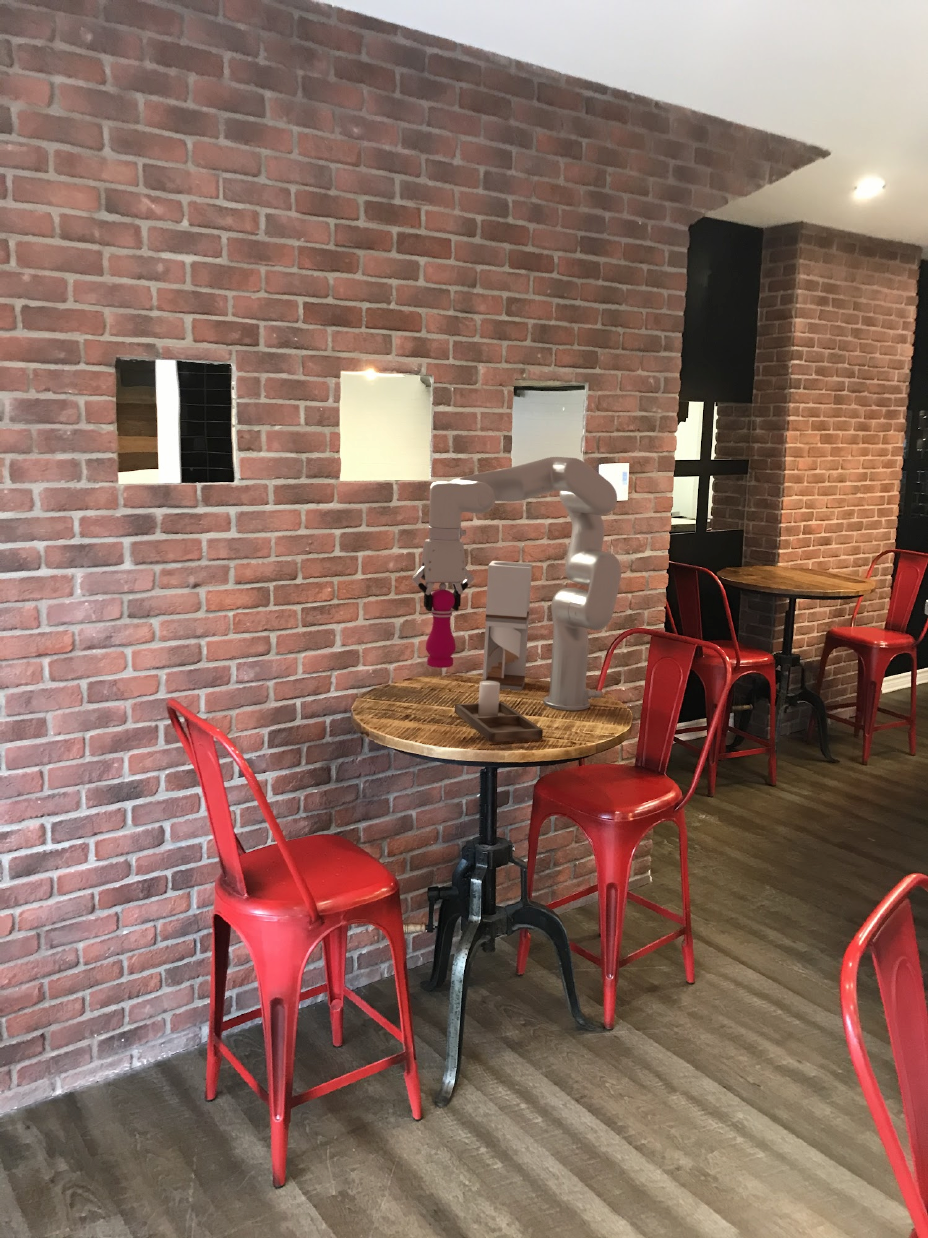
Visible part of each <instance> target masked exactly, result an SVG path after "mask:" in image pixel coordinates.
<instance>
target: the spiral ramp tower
mask: <svg viewBox="0 0 928 1238" xmlns="http://www.w3.org/2000/svg"><path fill="white" fill-rule="evenodd" d="M487 567H488V568H487V582H486V584H487V585H486V603H485V619H484V620H485V623H484V624H485V625H484V626H485V631H484V645H483V646H484V648H483V650H484V651H483V664H482V665H483V668H482V670H483V671H482V681H495V682H499V683H500V690H505V689H510V690H509V691H517V692H523V688H524V686H525V683H526V668H527V667H526V666H527V653H528V652H527V651H528V635H529V622H530V621H529V620H530V619H529V618H530V607H531V606H530V605H531V604H530V601H531V590H532V589H531V587H532V585H531V584H532V573H533V572H532V571H533V563H531V562H514V561H499V560H492V561H491V562H490V563H489V564H488V565H487Z"/></svg>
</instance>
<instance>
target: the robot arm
mask: <svg viewBox="0 0 928 1238" xmlns="http://www.w3.org/2000/svg"><path fill="white" fill-rule="evenodd" d="M429 488H430V490H429V514H428V515H429V516H428V518H429V519H428V539H424V543H423V548H422V553H421V559H420V568H419V570H417V571H416V572H415V573H414V575H413V576H412V577H411V579H410V580H411V581H412V582H413V583H414V584H415V585H416V586H417V587H418V588H419V590H420V591H421V592H422V593H423V607H424V609H425V611H427V612H432V609H433V607H432V602H433V595H431V594H432V590H433V588H434V585H435V584H441V583H445V584H452V588H453V592H452V593H453V595H454V597H455V603H454V605H453V607H452V608H451V610H454V611H459V609H460V607H461V604H462V603H461V602H462V601H461V600H462V594H463V593H464V591H465V590H466V589H467V588H468V586H469V585H470V584H471V583H473V581H475V576H473V575H472V573H471V572H470V571H469V570H468V569H467V568H466V556H465V555H466V554H465V547H464V542H463V541H464V540H462V537H463V536H464V537H465V536H466V535H467V531H466V529H462V513H471V514H477V515H480V514H485V513H487V512H489V511H491V509H492V508H493V507H494V505H495V504H496V502H509V503H510V502H519V501H520V502H522V501H526V500H528V499H532V498H536V497H538V496H542V495H546V494H549V493H552V492H553V493H554V492H559V500H560V503H561V505H562V506H563V508H564V509H565V511H566V512H567V514H568V515H569V518H570V523H571V525H572V526H571V529H572V530H571V536H570V542H569V546H568V551H567V556H566V560H565V565H564V566H565V567H564V574H565V577H566V578H567V579H568V580H569V581H570V582H573V583H575V584H578V585H582V586H588V590H585V589H580V588H575V587H565V588H562V589H560V590H558V591H557V592H556V593H555V594H554V595H553V598H552V600H551V605H550V606H551V607H550V608H551V620H552V629H553V630H552V633H553V634H552V646H551V647H552V649H551V650H552V651H551V663H550V678H549V679H550V680H549V692H548V693H549V694H548V695H546V696H545V697H543V699H542V703H543V705H545V706H546V707H548V708H551V709H555V710H561V711H582V710H587V709H589V708H590V706H591V701H590V700H591V699H592V698H593V699H601V697H602V696H603V695H602V691H601V690H593V689H588V688H586V687H587V686H586V684H587V670H588V660H589V659H588V658H589V657H588V656H589V646H590V645H589V643H590V642H589V634H588V630H590V631H601V630H603V629H605V628H607V626H608V625H609V624H610V622H611V620H612V618H613V615H614V611H615V608H616V602H617V598H618V593H619V589H620V585H621V584H620V583H621V577H622V567H621V562H620V560H619V558H618V557H617V556H616V555H615V554H613V553H611V552H608V551H605V550H604V551H603V543H604V538H605V525H604V521H603V518H602V516H605V515H608V514H610V513H611V512H613V510H614V509H615V508H616V505H617V502H618V495H617V490H616V488H615V487H614V486H613V484H612V483H611V481H608V479H606V478H605V477H604V476H602V475H601V474H600V473H599V472H598V471H596V470H595V469H594V468H593V467H592V466H590V465H589V464H588V463H586V462H585V461H583V460H581V459H579V458H577V457H576V458H575V457H564V456H550V457H545V458H542V459H538V460H534V461H531V462H528V463H523V464H520V465H516V466H512V467H505V468H500V469H495V470H490V471H484V472H478V473H473V474H469V475H466V476H461V477H459V478H455V479H452V480H451V481H434V482H432V483H431V485H430V487H429ZM421 580H422V581H425V583H423V582H422V581H421Z"/></svg>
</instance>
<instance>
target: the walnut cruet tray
mask: <svg viewBox="0 0 928 1238" xmlns="http://www.w3.org/2000/svg"><path fill="white" fill-rule="evenodd" d="M478 706H479V702H470V703H455V704H454V713H455V714H456V715H457V717H459V718H460V719H462V721H464V722H465V723H466V724H467V725H469V726H470V727H472V728H473V730H475V731H476V732H478V733H479V734H480V735H481V736H482V737H484V738H485V739H486V740H487V741H489V742H490V743H491V744H489V745H490V746H503V745H514V744H513V743H514V741H516V742H518V741H521V742H519V743H520V744H530V743H529V742H530V741H534V740H537V741H535V743H539V742H538V740H543V736H544V735H543V732H544V729H543V728H541V727H540V726H538V725H536V723H534V722H533V721H532V720H530V719H528V718H527V717H525V716H524V715H522V714H521V713H520V712H518V711H516V710H515V709H513V708H512V707H511V706H510V705H508V704H507V703H505V702H503V701H499V708H498V716H484V717H478ZM523 741H525V742H523ZM500 742H505V743H500ZM507 742H508V743H507ZM501 744H503V745H501Z"/></svg>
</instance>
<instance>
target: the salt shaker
mask: <svg viewBox="0 0 928 1238" xmlns="http://www.w3.org/2000/svg"><path fill="white" fill-rule="evenodd" d="M500 690H501V689H500V683H499V682H495V681H481V680H480V681H479V687H478V703H479V706H478V717H484V716H498V708H499V702H500Z"/></svg>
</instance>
